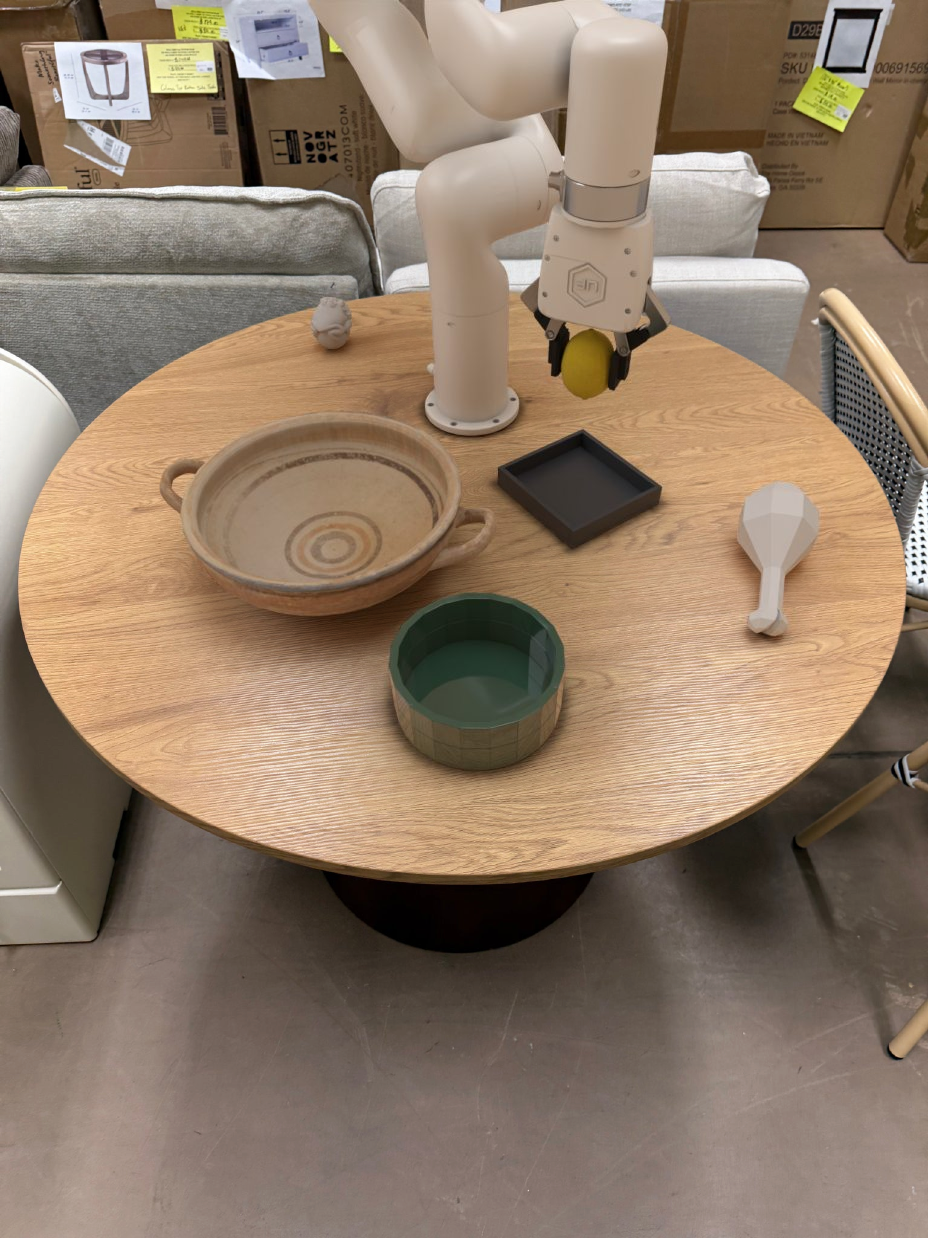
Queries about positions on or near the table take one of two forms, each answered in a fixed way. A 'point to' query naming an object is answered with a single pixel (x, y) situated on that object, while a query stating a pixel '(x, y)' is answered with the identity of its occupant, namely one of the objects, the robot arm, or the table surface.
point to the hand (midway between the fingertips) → (587, 375)
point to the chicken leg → (776, 545)
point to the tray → (578, 487)
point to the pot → (477, 680)
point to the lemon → (587, 363)
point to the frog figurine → (331, 322)
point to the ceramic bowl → (325, 512)
